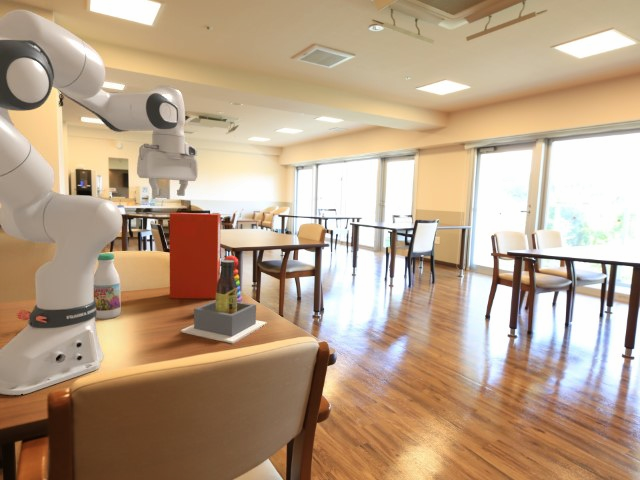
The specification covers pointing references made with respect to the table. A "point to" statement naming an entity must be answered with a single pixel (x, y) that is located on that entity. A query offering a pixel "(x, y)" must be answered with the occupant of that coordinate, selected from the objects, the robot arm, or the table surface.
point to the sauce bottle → (226, 289)
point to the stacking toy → (235, 276)
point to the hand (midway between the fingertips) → (169, 195)
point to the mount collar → (224, 322)
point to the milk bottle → (107, 288)
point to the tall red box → (194, 255)
